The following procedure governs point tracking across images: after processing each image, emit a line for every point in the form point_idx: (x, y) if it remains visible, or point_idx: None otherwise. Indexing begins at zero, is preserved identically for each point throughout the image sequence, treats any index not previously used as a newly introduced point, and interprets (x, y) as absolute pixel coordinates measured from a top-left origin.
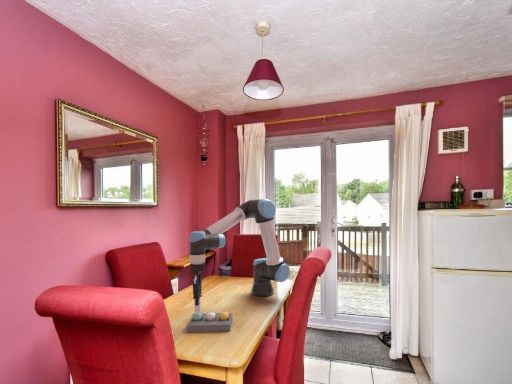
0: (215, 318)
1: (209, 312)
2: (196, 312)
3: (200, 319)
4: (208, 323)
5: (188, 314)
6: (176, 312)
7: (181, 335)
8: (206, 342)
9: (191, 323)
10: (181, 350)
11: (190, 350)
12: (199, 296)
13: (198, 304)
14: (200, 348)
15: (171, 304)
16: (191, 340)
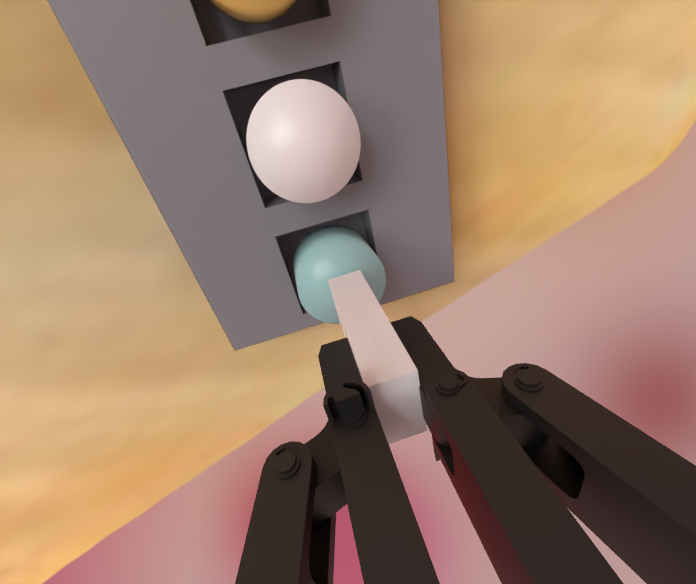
0: (230, 106)
1: (274, 181)
2: (310, 314)
3: (354, 232)
4: (412, 116)
5: (157, 402)
6: (164, 473)
7: (468, 271)
8: (578, 42)
9: (420, 269)
10: (636, 175)
11: (652, 118)
12: (444, 397)
13: (396, 326)
14: (648, 55)
15: (59, 561)
16: (534, 176)
